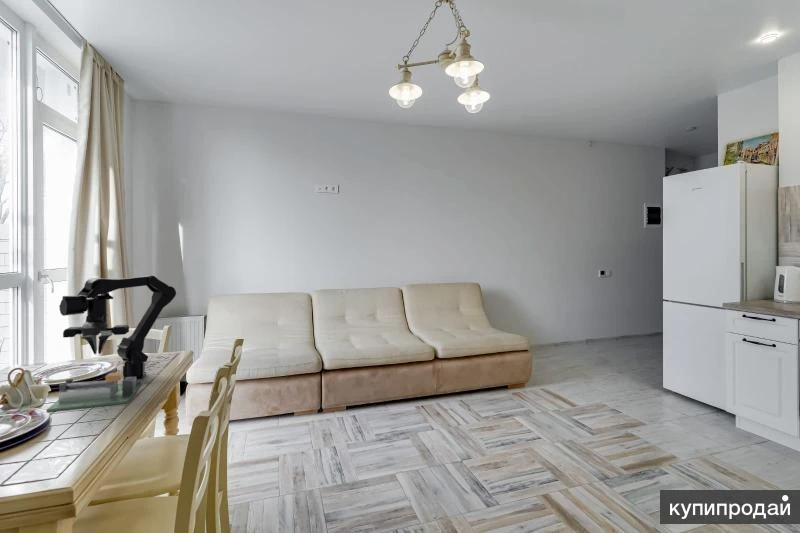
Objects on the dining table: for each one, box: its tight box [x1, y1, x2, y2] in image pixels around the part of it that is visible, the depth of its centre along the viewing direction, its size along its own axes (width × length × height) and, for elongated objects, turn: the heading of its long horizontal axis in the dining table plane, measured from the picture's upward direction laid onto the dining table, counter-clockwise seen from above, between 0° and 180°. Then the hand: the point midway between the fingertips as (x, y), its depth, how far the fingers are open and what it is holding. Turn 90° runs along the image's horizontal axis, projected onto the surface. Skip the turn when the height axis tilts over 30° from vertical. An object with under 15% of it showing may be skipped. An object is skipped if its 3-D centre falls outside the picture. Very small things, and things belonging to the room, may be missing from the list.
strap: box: [67, 380, 117, 388], centre depth 134 cm, size 14×4×1 cm, turn 112°
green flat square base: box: [46, 376, 142, 413], centre depth 135 cm, size 21×20×6 cm
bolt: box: [104, 371, 124, 382], centre depth 137 cm, size 4×4×2 cm
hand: (97, 353), depth 146 cm, fingers closed
